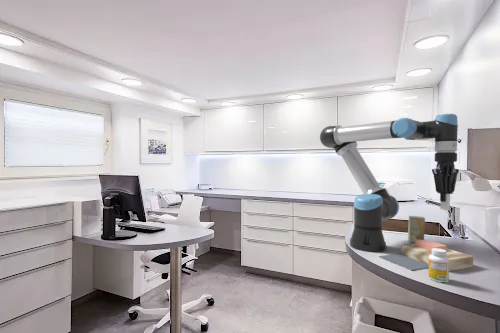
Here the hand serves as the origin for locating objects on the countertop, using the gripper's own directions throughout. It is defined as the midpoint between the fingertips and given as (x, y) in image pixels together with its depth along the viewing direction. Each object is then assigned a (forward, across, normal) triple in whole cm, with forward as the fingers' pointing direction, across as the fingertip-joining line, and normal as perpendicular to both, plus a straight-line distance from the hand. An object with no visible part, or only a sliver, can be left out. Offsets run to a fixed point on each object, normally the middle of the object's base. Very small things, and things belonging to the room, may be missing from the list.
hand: (444, 209), depth 112 cm
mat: (+19, -22, 0) cm, 29 cm away
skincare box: (+19, +8, +19) cm, 28 cm away
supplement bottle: (+19, -25, -16) cm, 36 cm away
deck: (+19, -9, -3) cm, 21 cm away
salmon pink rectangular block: (+15, -8, 0) cm, 17 cm away
